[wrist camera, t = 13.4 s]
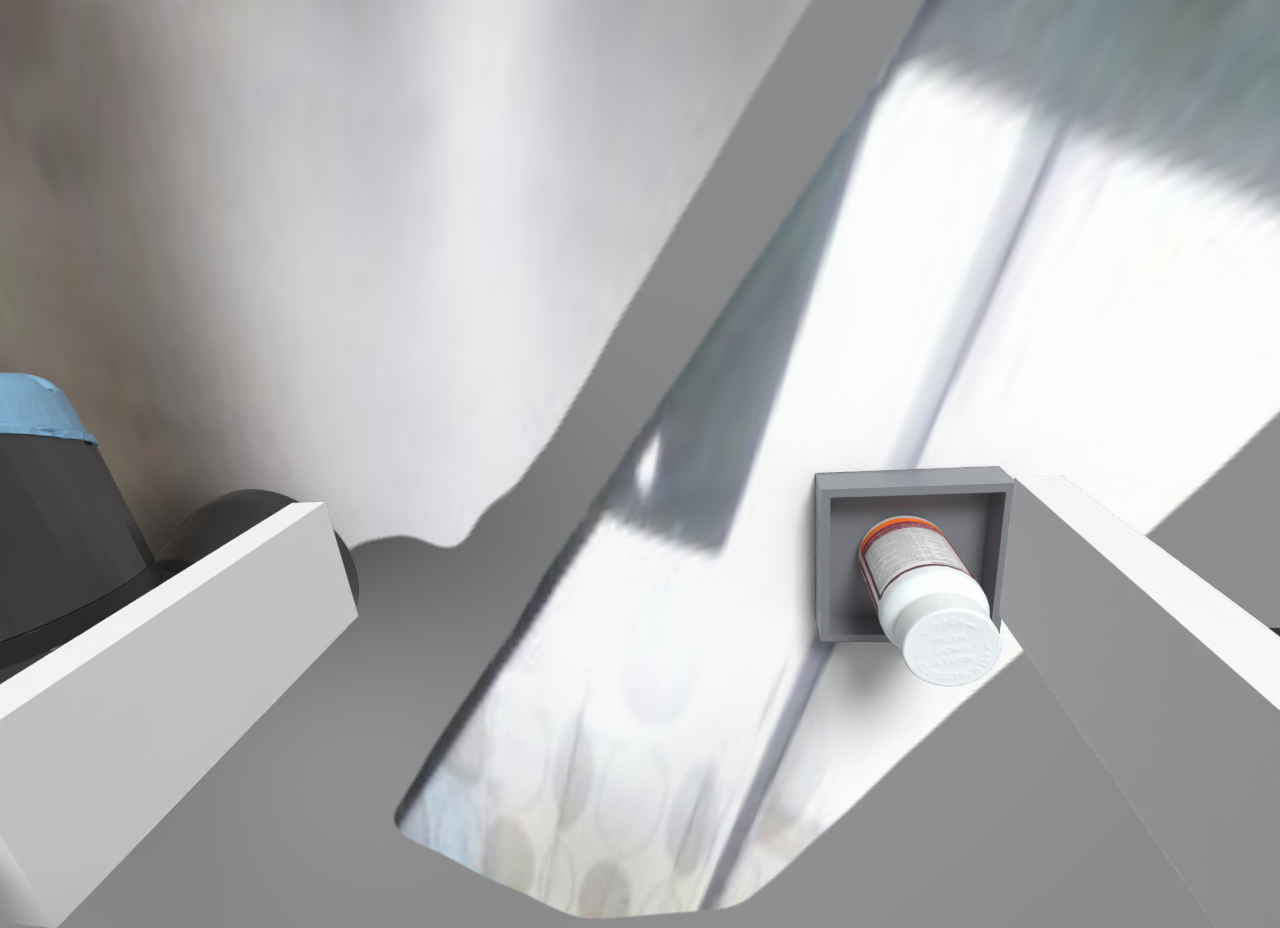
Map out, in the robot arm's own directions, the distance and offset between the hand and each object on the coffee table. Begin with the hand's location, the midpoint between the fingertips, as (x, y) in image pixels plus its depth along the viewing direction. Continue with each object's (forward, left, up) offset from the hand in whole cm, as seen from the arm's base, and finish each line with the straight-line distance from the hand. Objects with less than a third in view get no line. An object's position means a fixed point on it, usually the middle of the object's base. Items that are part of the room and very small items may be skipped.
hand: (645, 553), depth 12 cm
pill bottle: (+13, -17, -31) cm, 38 cm away
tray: (+13, -17, -32) cm, 38 cm away
